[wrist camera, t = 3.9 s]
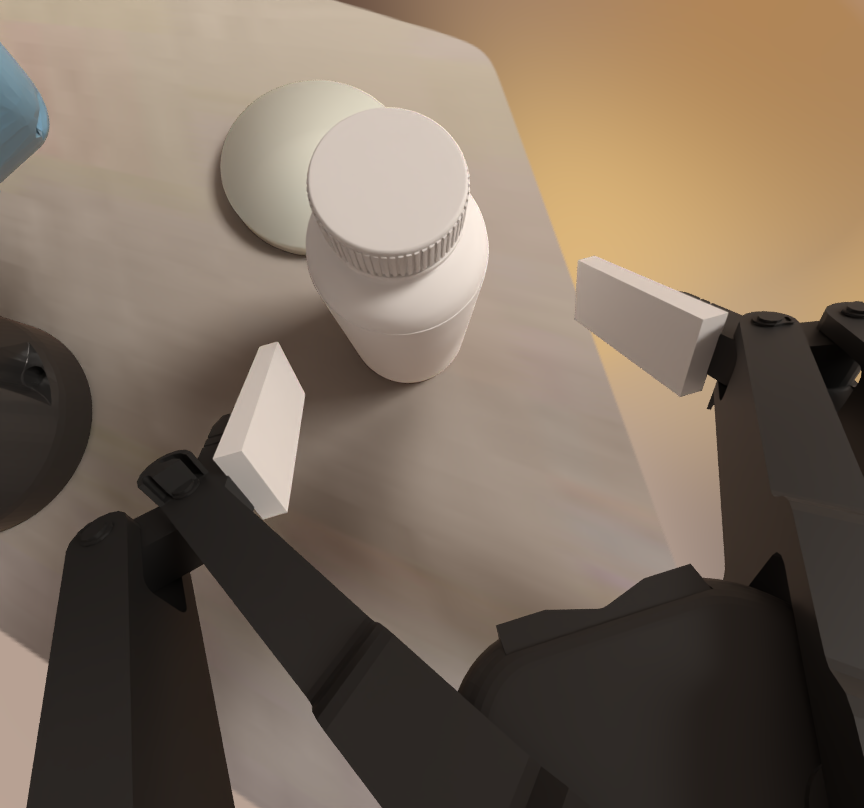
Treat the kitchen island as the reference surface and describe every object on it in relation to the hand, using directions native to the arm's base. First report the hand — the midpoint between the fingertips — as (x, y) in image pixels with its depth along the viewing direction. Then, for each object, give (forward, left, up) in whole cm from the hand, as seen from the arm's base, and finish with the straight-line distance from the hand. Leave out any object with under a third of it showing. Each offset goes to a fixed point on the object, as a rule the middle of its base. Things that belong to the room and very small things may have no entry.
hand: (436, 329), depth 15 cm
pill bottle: (-3, +3, -10) cm, 11 cm away
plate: (-14, +13, -10) cm, 21 cm away
